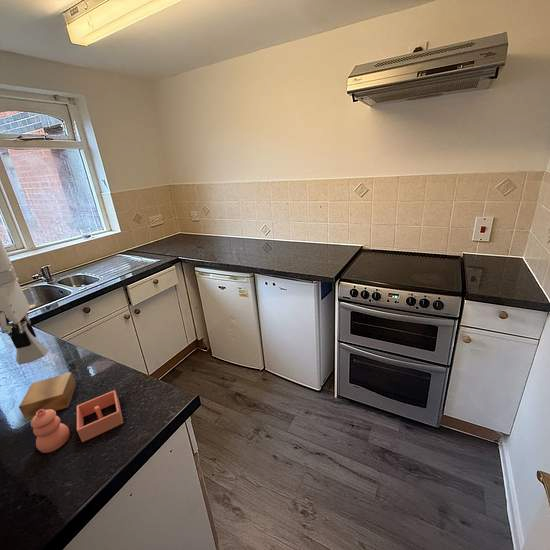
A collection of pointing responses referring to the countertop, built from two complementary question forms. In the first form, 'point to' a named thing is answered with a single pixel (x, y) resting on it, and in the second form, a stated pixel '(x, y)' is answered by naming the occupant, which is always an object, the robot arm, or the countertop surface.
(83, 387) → the countertop surface
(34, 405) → the oak block
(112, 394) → the pottery
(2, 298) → the robot arm
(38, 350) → the flask
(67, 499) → the countertop surface
